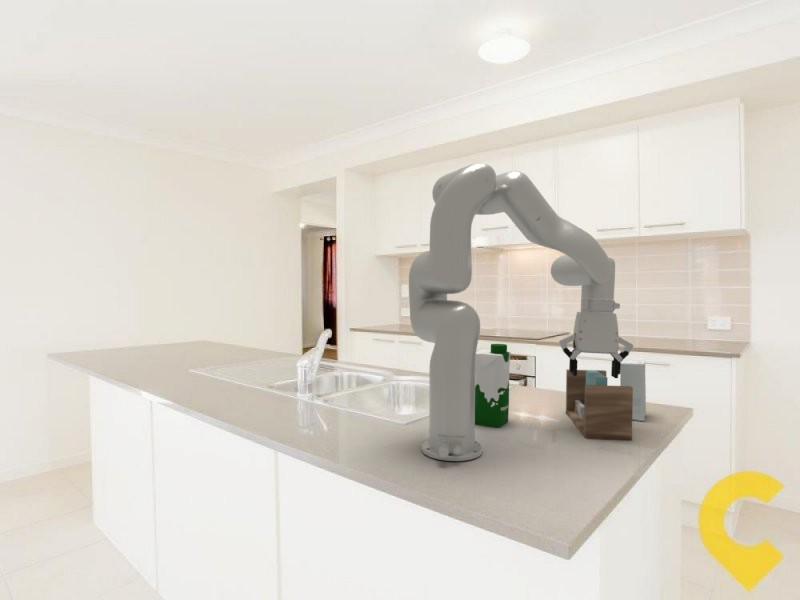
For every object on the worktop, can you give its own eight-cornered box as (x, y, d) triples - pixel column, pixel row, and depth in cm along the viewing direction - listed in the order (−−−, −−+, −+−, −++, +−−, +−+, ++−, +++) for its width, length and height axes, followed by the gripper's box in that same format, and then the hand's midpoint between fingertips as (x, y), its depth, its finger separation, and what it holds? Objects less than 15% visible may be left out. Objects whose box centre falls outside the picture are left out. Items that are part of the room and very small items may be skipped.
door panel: (606, 427, 114) (607, 377, 114) (595, 427, 115) (596, 377, 114) (595, 416, 124) (596, 370, 124) (585, 415, 125) (585, 369, 124)
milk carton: (501, 429, 116) (502, 347, 115) (466, 423, 121) (467, 344, 120) (512, 420, 124) (513, 343, 123) (479, 415, 128) (480, 341, 128)
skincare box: (644, 422, 123) (645, 364, 122) (619, 418, 126) (620, 362, 125) (645, 414, 130) (646, 359, 130) (621, 411, 133) (622, 358, 132)
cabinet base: (631, 440, 108) (632, 387, 108) (585, 438, 109) (586, 386, 109) (604, 414, 130) (604, 370, 129) (565, 413, 131) (566, 369, 131)
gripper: (628, 308, 121) (625, 375, 121) (557, 305, 123) (555, 371, 124) (639, 309, 114) (636, 380, 114) (563, 306, 116) (561, 376, 116)
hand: (594, 376), depth 119 cm, fingers open, 9 cm apart
